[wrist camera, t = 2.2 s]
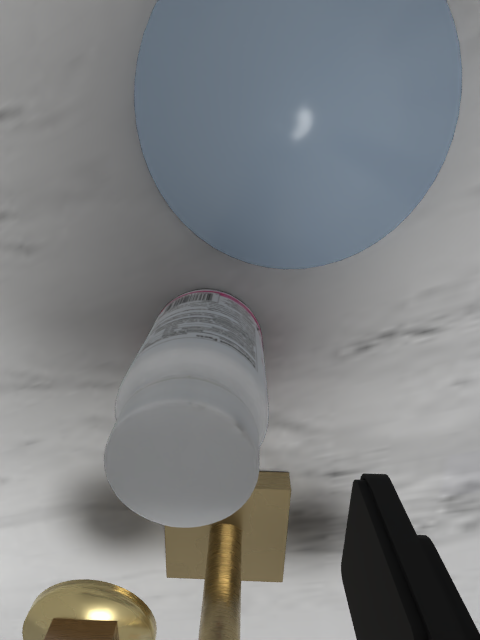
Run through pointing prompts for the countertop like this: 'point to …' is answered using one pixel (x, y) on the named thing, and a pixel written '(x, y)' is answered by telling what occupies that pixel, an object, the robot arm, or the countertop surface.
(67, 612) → the balance
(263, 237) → the saucer
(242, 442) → the pill bottle
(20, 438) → the countertop surface
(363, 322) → the countertop surface
